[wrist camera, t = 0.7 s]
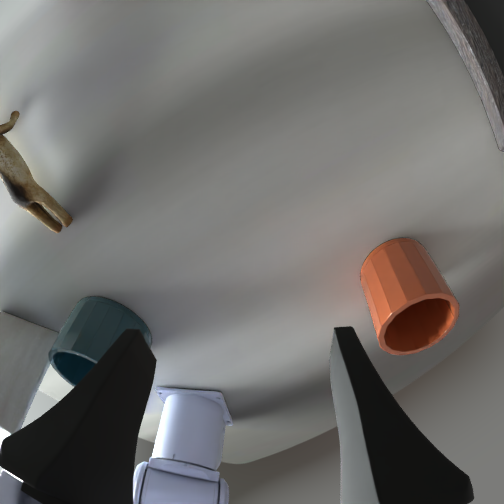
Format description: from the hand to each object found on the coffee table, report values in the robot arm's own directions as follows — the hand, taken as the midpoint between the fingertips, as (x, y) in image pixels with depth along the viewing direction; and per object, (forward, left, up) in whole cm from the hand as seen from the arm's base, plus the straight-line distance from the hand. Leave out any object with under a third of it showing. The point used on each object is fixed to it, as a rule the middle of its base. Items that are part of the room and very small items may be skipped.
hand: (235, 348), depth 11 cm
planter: (-13, +31, -10) cm, 35 cm away
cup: (-4, -10, -9) cm, 14 cm away
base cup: (-10, +14, -9) cm, 20 cm away
